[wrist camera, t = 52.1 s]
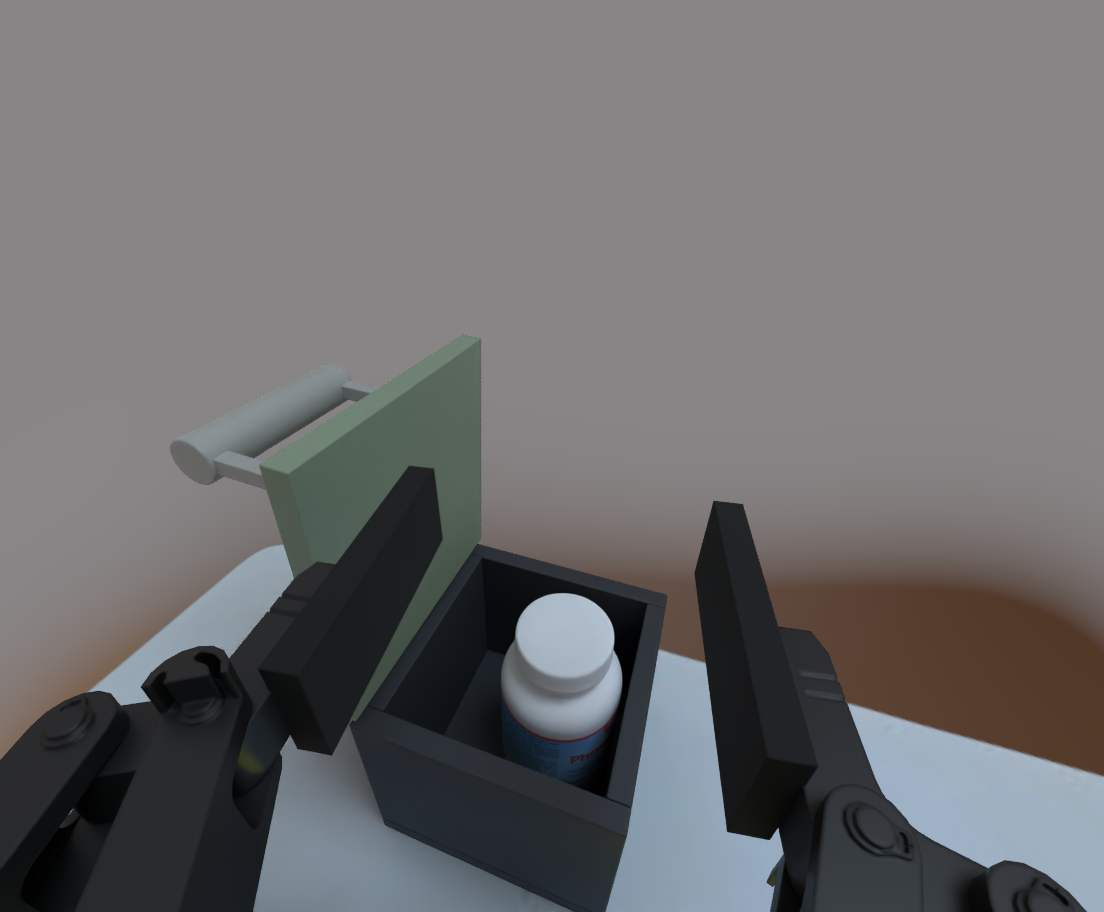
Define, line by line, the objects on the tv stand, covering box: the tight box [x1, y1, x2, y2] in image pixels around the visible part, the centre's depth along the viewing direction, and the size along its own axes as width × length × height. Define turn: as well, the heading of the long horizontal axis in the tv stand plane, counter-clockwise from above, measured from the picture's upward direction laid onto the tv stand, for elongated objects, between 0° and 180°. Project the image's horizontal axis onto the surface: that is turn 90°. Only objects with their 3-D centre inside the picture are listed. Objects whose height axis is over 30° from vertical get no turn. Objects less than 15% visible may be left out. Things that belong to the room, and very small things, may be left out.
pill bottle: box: [501, 593, 622, 794], centre depth 25 cm, size 6×6×11 cm
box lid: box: [170, 335, 481, 721], centre depth 22 cm, size 13×12×8 cm
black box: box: [349, 544, 667, 912], centre depth 26 cm, size 12×12×10 cm
